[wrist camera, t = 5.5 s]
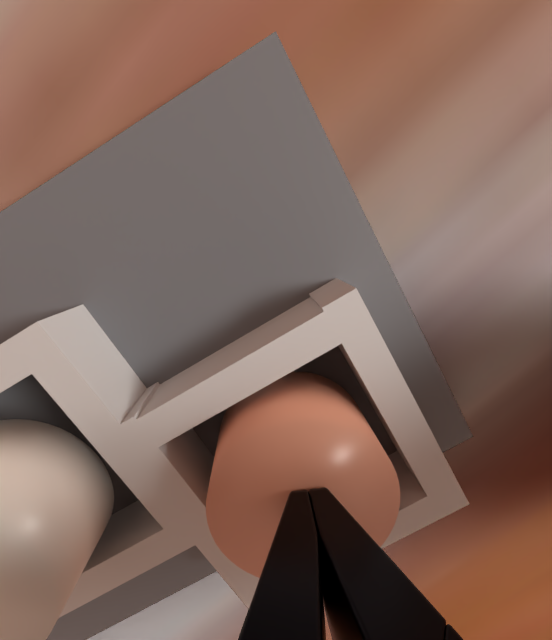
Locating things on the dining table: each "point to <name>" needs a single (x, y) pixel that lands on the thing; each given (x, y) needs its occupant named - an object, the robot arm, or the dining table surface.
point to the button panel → (207, 321)
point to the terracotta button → (295, 465)
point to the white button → (46, 522)
